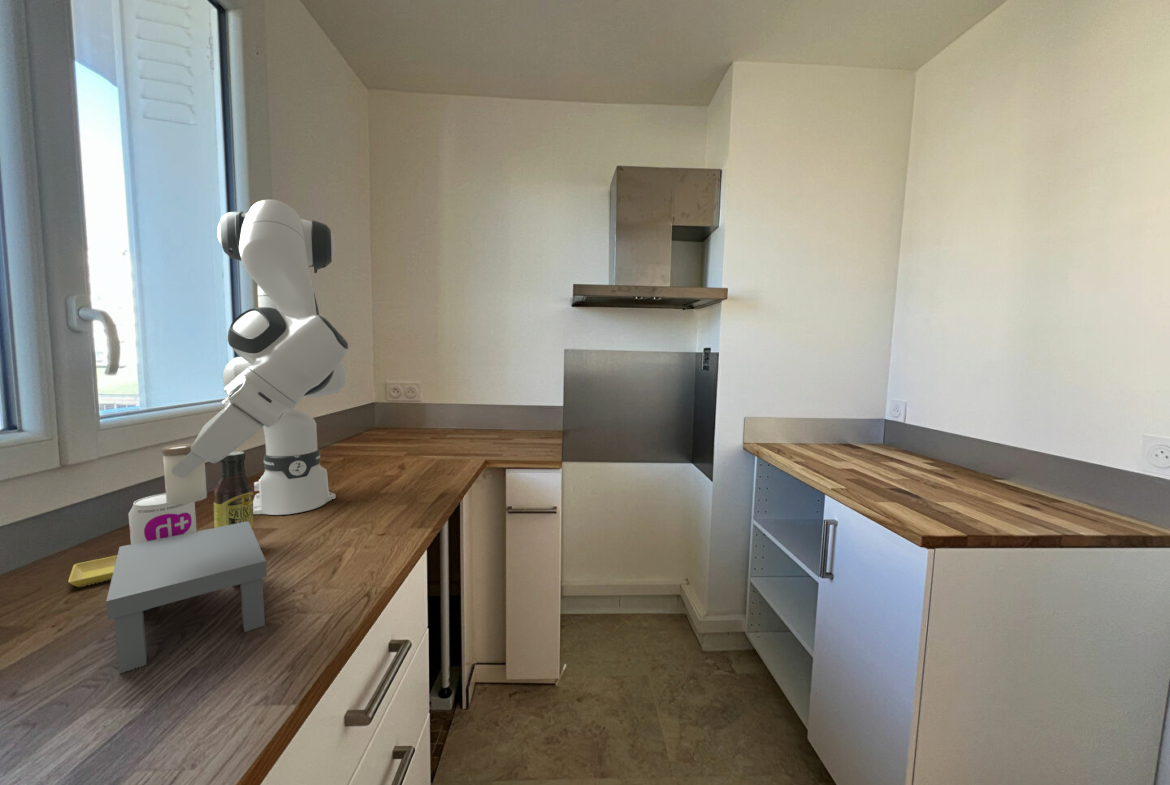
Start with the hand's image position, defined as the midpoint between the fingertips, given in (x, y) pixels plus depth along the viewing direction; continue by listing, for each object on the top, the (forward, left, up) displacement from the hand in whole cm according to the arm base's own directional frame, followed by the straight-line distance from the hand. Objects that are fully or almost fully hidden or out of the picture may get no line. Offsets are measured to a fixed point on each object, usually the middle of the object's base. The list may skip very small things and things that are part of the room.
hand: (179, 469), depth 66 cm
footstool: (0, +1, -23) cm, 23 cm away
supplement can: (-16, -2, -23) cm, 28 cm away
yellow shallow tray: (-27, -10, -24) cm, 37 cm away
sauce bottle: (-24, +8, -23) cm, 34 cm away
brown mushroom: (0, +1, -5) cm, 5 cm away
